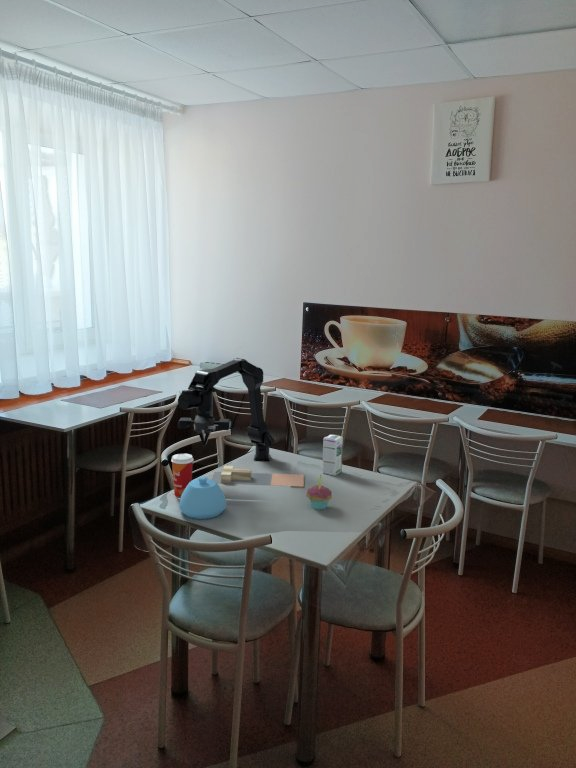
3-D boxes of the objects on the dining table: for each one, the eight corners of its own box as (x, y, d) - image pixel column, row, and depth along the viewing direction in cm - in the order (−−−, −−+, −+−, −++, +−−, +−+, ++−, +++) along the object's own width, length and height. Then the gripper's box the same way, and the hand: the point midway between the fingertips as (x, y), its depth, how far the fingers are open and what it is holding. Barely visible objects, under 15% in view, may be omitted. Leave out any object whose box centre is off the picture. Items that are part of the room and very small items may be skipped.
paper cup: (170, 491, 220) (169, 453, 217) (192, 490, 223) (191, 452, 220) (173, 500, 213) (172, 460, 210) (195, 498, 215) (195, 459, 212)
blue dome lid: (185, 523, 195) (185, 488, 193) (175, 505, 209) (174, 472, 207) (231, 517, 201) (231, 483, 199) (218, 500, 215) (218, 467, 212)
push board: (214, 472, 240) (214, 471, 240) (303, 475, 240) (303, 474, 240) (210, 484, 228) (210, 483, 228) (303, 487, 228) (303, 486, 228)
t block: (224, 472, 239) (224, 465, 238) (251, 473, 239) (251, 466, 238) (220, 482, 229) (220, 474, 229) (249, 483, 229) (249, 475, 228)
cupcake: (332, 512, 207) (333, 477, 205) (306, 511, 207) (307, 477, 204) (330, 501, 215) (331, 468, 213) (305, 501, 215) (306, 468, 213)
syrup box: (335, 476, 240) (337, 439, 238) (321, 473, 243) (323, 437, 240) (341, 471, 245) (343, 436, 242) (328, 469, 248) (329, 433, 245)
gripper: (174, 409, 221) (175, 452, 224) (227, 411, 221) (227, 453, 224) (180, 402, 232) (180, 442, 235) (231, 403, 231) (230, 444, 235)
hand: (204, 446), depth 232 cm, fingers closed
